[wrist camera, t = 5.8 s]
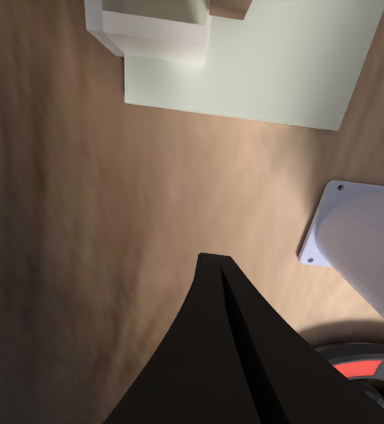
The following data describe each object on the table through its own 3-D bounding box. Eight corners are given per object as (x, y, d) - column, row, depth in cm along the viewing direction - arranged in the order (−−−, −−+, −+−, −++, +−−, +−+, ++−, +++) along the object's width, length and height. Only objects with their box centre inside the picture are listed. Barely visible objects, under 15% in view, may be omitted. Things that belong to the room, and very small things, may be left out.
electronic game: (371, 433, 33) (398, 480, 29) (233, 421, 32) (239, 467, 28) (463, 339, 24) (523, 386, 20) (277, 318, 23) (296, 363, 19)
